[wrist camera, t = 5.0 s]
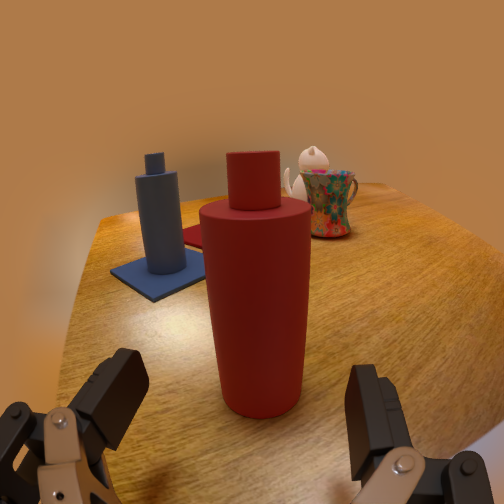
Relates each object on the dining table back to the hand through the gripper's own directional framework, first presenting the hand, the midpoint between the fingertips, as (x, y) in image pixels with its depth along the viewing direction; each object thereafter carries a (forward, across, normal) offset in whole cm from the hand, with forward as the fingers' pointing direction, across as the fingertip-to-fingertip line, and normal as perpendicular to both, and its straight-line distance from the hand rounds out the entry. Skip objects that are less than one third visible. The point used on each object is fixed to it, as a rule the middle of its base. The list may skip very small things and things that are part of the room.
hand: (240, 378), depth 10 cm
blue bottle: (+24, +14, +6) cm, 29 cm away
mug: (+42, -9, +7) cm, 43 cm away
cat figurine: (+70, -6, +7) cm, 71 cm away
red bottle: (+6, 0, +7) cm, 9 cm away
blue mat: (+24, +14, +7) cm, 29 cm away
